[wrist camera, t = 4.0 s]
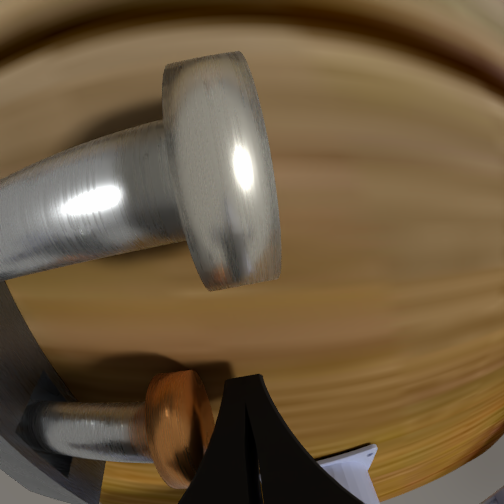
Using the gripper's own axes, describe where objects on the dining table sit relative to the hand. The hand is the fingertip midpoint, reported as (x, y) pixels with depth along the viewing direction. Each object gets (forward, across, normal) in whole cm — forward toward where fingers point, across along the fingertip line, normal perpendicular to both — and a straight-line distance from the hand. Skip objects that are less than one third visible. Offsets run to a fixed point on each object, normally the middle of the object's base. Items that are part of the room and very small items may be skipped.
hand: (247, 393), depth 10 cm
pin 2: (+1, +8, 0) cm, 8 cm away
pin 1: (+1, +5, -8) cm, 10 cm away
